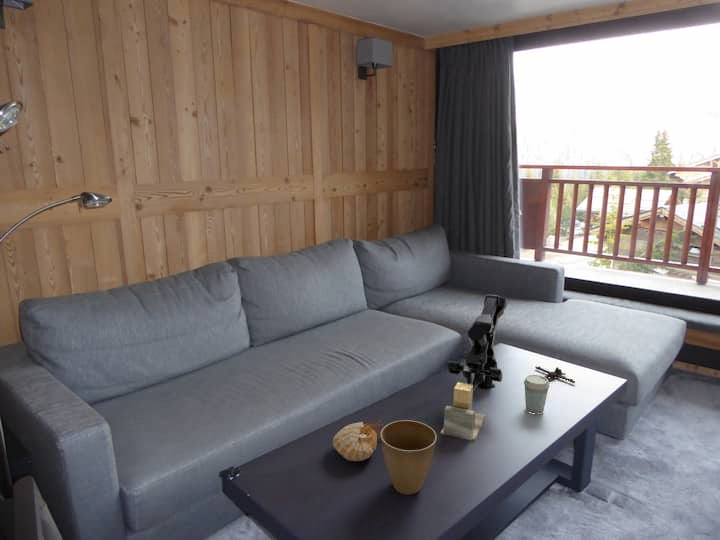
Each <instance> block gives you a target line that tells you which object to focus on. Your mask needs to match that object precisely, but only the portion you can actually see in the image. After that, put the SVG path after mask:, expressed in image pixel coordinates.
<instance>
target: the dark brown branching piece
mask: <svg viewBox="0 0 720 540" xmlns="http://www.w3.org/2000/svg"><path fill="white" fill-rule="evenodd" d="M535 369H536V370H539V371H542V372H543V373H546V374H547V375H545V376H543V377H545V378H547V379H548V382H550V381H552V380H554V379H553V378H555V377H557V378H558V377H559V378H558V379H560V378H562V379H561V380H564V379H565V381H567V380H568V381H567V382H569V381H570V382H569V383H571V382H572V383H571V384H575V383H576V381H575V380H573V379H574V378H568V377H565V375H566V374H567V373H566V372H562V369H560V368H559V366H557V367H555V369H554V371H549V370H547V369H544V368H542V367H541V365H539V366H535ZM548 377H550V378H548ZM551 379H552V380H551ZM555 379H556V378H555ZM549 380H550V381H549Z"/></svg>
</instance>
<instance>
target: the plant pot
mask: <svg viewBox="0 0 720 540" xmlns="http://www.w3.org/2000/svg"><path fill="white" fill-rule="evenodd" d="M380 431H381V432H380V438H381V439H380V442H381V446H382V452H383V457H384V461H385V465H386V469H387V471H388V475H389V477H390V480H391V482H392V486H393V488H394V489H395V491H397V492H398V493H400V494H403V495H413V494H416V493H418V492H419V491H420V490H421V488H422V486H423V484H424V482H425V480H426V478H427V475H428V473H429V469H430V466H431V463H432V459H433V456H434V451H435V448H436V443H437V442H436V441H437V433H436V431H435V430H434V429H433V428H432V427H430V426H429V425H427V424H425V423H424V422H421V421H415V420H410V419H402V420H397V421H392V422H390V423H388V424H385V426H384V427H382V430H380Z"/></svg>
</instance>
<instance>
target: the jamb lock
mask: <svg viewBox="0 0 720 540" xmlns="http://www.w3.org/2000/svg"><path fill="white" fill-rule="evenodd" d="M443 418H444V419H443V427H442V428H441V430H440V434H441V435H444V436H445V435H446V436H450V437H454V438H459V439H462V440H465V441H466V440H467V441H471V442H475V441H476V439H477V436H478V435H479V432H480V431H481V427H482V425H483V423H484V421H485V419H484V418H486V414H482V413H476V412H475V410H472V411H471V410H466V409H461V408H456V407H453V406H450V405H446V406H445V408H444V416H443Z"/></svg>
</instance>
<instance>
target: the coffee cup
mask: <svg viewBox="0 0 720 540" xmlns="http://www.w3.org/2000/svg"><path fill="white" fill-rule="evenodd" d="M523 384H524V400H525V410H527V411H528V412H531V413H535V414H538V413H542V412H543V413H544V410H545V406H546V401H547V396H548V390H549V389H550V381H548V378H545V377H544V376H542V375H540V374H530V375H527V376H526V377H525V379H524V380H523ZM527 411H526V412H527ZM528 412H527V413H528ZM543 413H542V414H543Z"/></svg>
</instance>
